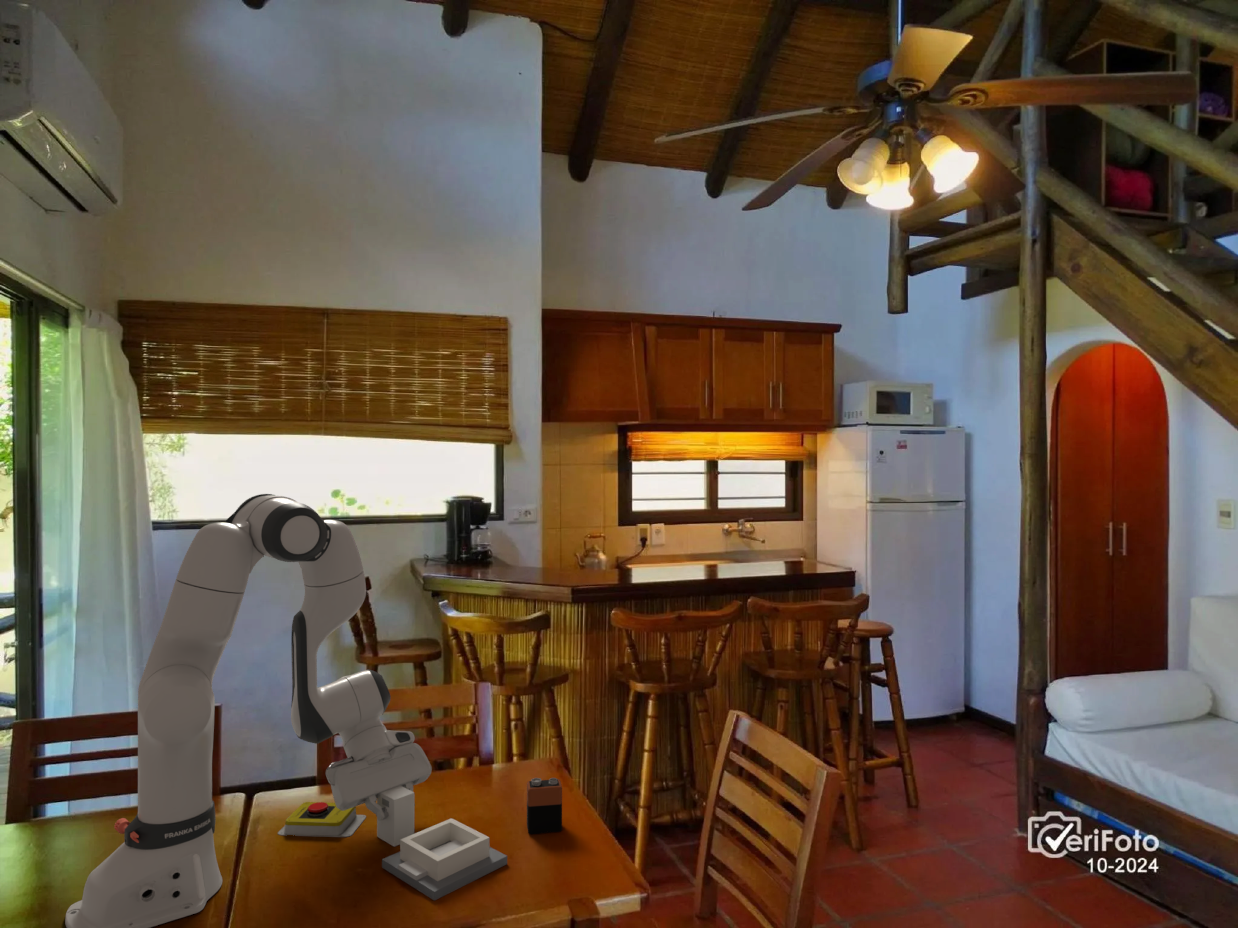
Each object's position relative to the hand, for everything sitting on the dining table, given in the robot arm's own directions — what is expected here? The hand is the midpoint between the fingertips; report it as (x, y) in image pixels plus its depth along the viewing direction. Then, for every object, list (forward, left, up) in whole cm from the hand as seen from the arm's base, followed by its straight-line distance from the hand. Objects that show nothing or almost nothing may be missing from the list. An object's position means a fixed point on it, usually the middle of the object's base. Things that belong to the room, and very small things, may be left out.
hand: (397, 813), depth 154 cm
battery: (+22, -18, -5) cm, 29 cm away
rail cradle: (0, -15, -5) cm, 16 cm away
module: (0, +1, -5) cm, 5 cm away
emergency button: (-7, +16, -6) cm, 18 cm away
